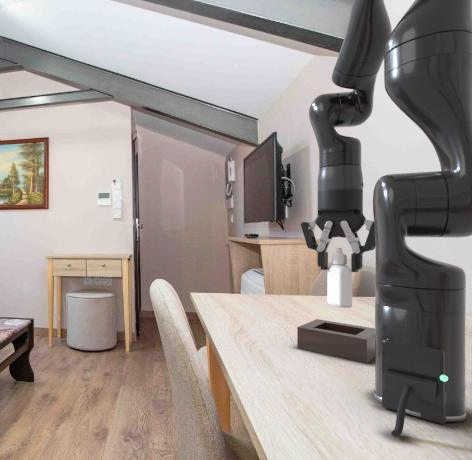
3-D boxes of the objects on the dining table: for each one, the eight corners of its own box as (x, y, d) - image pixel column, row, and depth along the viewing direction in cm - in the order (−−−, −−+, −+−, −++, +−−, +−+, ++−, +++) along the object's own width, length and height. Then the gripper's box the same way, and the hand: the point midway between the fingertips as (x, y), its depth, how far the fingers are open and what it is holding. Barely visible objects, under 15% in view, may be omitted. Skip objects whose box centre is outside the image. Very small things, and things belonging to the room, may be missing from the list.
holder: (366, 363, 71) (366, 339, 71) (297, 348, 80) (297, 327, 80) (382, 351, 78) (382, 329, 78) (316, 338, 87) (316, 319, 87)
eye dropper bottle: (324, 306, 79) (324, 248, 79) (328, 302, 83) (328, 247, 83) (351, 309, 76) (351, 248, 76) (353, 304, 80) (353, 247, 80)
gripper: (294, 190, 82) (293, 269, 83) (379, 184, 71) (379, 275, 71) (306, 192, 87) (306, 266, 87) (389, 187, 76) (388, 272, 76)
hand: (339, 270), depth 79 cm, fingers closed on eye dropper bottle, 4 cm apart
